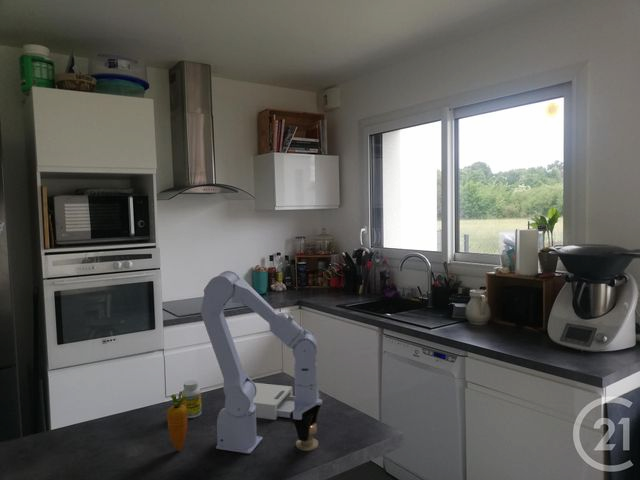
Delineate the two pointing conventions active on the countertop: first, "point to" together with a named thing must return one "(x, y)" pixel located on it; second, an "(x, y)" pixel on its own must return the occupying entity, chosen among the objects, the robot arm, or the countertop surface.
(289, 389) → the player
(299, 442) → the stand
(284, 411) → the tray
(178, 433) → the carrot
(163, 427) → the countertop surface
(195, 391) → the supplement bottle
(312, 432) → the disc
